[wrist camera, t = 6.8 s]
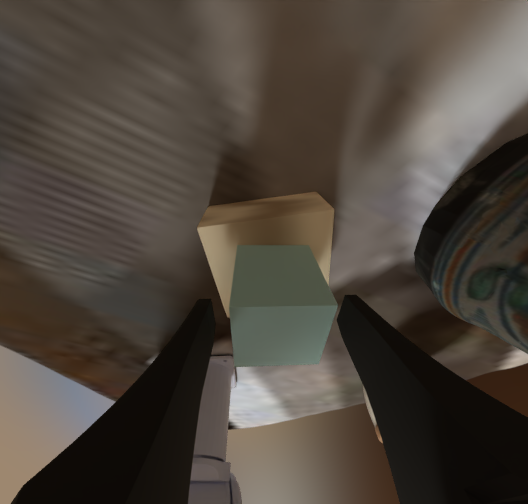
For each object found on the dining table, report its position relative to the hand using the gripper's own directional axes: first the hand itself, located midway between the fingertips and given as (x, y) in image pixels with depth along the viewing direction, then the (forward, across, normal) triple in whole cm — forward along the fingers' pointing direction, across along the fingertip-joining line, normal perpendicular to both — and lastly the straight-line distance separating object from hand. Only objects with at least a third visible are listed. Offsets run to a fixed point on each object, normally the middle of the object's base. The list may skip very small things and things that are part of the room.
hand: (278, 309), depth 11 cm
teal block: (+3, 0, 0) cm, 3 cm away
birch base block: (+7, 0, 0) cm, 7 cm away
